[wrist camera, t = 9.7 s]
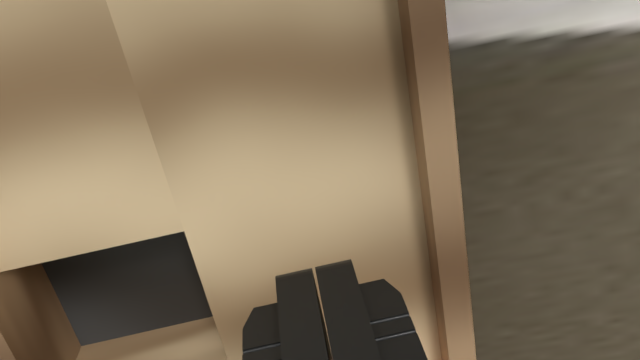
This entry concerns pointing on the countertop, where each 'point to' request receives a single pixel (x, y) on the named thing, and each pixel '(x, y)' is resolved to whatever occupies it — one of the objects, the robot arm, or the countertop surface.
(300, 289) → the robot arm
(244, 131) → the trap track
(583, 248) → the countertop surface
